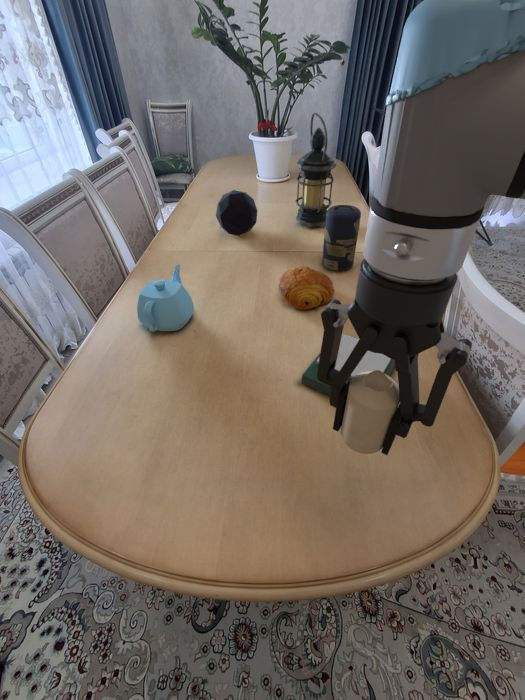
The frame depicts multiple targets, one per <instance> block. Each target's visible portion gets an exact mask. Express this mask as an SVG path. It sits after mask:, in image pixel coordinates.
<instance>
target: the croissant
mask: <svg viewBox="0 0 525 700" xmlns="http://www.w3.org/2000/svg"><path fill="white" fill-rule="evenodd" d="M278 289H279V291H280V294H281V296H282V298H283V299H284V301H285V302H286V303H287V304H288V305H289V306H290V307H292V308H295V309H298V310H308V309H312V308H317V307H318V306H322V305H325V304H327V303H328V302H330V300H331V298H332V297H333V295H335V287H334V283H333V280H332V279H331V278H330V277H329V276H328V275H327V274H325V273H323V272H322V271H320V270H317V269H313V268H310V267H309V266H301V267H293V268H291V269H288V270H285V271H284V272H283V274H282V275H281V276H280V277H279V283H278Z"/></svg>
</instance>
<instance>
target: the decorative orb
mask: <svg viewBox="0 0 525 700" xmlns="http://www.w3.org/2000/svg"><path fill="white" fill-rule="evenodd" d="M256 205H257V204H256V202H255V199H254V198H253V197H252V196H250V195H249V194H248V193H247V192H245V191H241V190H235V189H232V190H231V191H228V192H226V193H223V195H221V198H220V199H219V201H218V202H217V204H216V211H215V212H216V213H215V217H216V219H217V222H218V224H219V226H220V228H221V229H222V230H224V231H225V232H226V233H227V234H228V235H234V236H238V237H240V236H242V235H244V234H247V233H249V232H251V230H252V229H253V228H254V226H255V225H256V224H257V220H258V208H257V206H256Z"/></svg>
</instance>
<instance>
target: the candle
mask: <svg viewBox="0 0 525 700" xmlns="http://www.w3.org/2000/svg"><path fill="white" fill-rule="evenodd" d="M399 404H400V396H399V384H398V383H397V381H395V379H393V377H391V376H390V375H389V376H388V375H386V374H384V373H383V372H382V371H380V370H374V371H368V372H362V373H359V374H357V375H356V376H354V377H353V378H352V380H351V381H350V385H349V390H348V395H347V400H346V406H345V411H344V416H343V421H342V426H341V428H340V436H341V439H342V441H343V443H344V444H345V445H346V447H348V448H349V449H351V450H352V451H354V452H356V453H357V454H358V453H359V454H362V455H371V454H372V455H373V454H376V453H378V452H379V451H382V448H383V445H384V442H385V440H386V437H387V434H388V431H389V428H390V425H391V422H392V419H393V417H394V415H395V413H396V411H397V408H398V406H399Z"/></svg>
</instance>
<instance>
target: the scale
mask: <svg viewBox="0 0 525 700" xmlns="http://www.w3.org/2000/svg"><path fill="white" fill-rule="evenodd" d="M358 341H359V338H355V337H353V336H350V335H348V334H344V333H342V337H341V342H340V346H339V351H338V356H337V361H336V366H335V369H336V370H337V371H340V370H341V368H342V367H343V365H344V363H345V362H346V360H347V359H348V357H349V355H350V354H351V352H352V350H353V349H354V347H355V346H356V344H357V343H358ZM319 359H320V353H319V354H318V355H317V356H316V357H315V358H314V359H313V361H312V362H311V364H310V365H309V366H308V367H307V368H306V369H305V371H304V372H303V374H301V384H302V385H305V386H307V387H309V388H311V389H313V390H315V391H317V392H320V393H322V394H324V395H326V396H329V397H330V395H331V387H330V385H329V384H328V383H327V382H320V381H319V380H318V379H317V371H318V365H319ZM393 369H395V360H393V359H390V358H389V357H387V356H385V355H383V354H379V353H373V352H371V351H367V352H366V354H365V355H364V356H363V358H362V359H361V361H360V362H359V364H358V365H357V367H356V368H355V370H354V371H353V372H352V374H351V375H350V377H349V378H348V380H347V381H351V380H352V378H353V377H354V376H356V375H357V374H359V373H362V372H368V371H374V370H380V371H382V372H383V373H384V374H386V375H388V376H389V377H390V375H391V373H392V372H393ZM346 383H347V382H346Z"/></svg>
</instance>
